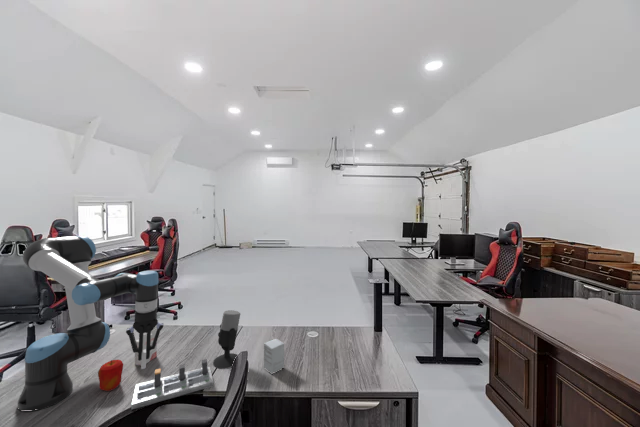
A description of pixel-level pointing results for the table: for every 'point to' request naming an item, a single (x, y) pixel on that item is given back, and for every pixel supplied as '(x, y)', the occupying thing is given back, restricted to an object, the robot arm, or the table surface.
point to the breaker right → (204, 367)
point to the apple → (110, 375)
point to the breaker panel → (170, 387)
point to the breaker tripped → (157, 378)
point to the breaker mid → (181, 372)
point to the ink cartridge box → (152, 352)
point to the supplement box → (274, 355)
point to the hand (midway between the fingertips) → (143, 366)
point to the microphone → (227, 339)
